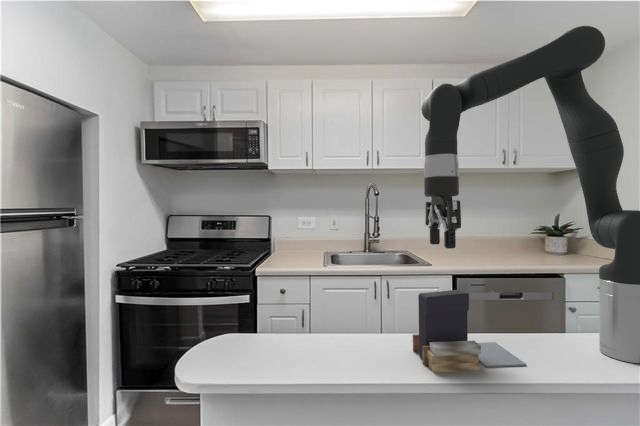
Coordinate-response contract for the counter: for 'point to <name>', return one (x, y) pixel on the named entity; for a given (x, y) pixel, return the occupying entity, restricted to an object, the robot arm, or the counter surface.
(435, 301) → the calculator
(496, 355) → the slate mat
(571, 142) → the robot arm
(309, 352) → the counter surface
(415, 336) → the rack
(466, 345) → the offcut stack
